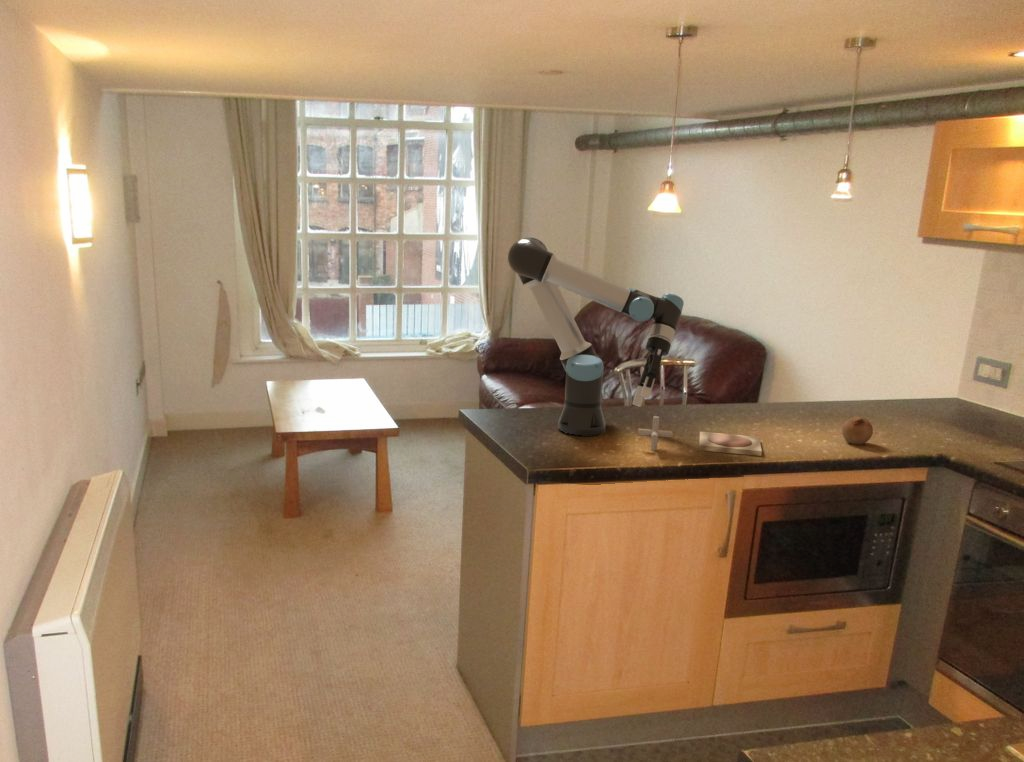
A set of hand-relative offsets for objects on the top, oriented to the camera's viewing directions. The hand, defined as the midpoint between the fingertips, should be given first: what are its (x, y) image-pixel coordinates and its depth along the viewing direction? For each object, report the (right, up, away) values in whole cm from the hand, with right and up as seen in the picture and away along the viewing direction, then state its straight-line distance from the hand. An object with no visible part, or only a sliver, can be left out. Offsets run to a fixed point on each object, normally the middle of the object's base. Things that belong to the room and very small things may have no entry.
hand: (640, 401), depth 257 cm
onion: (+68, -13, -1) cm, 69 cm away
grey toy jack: (+2, -14, -15) cm, 20 cm away
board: (+26, -13, -8) cm, 30 cm away
